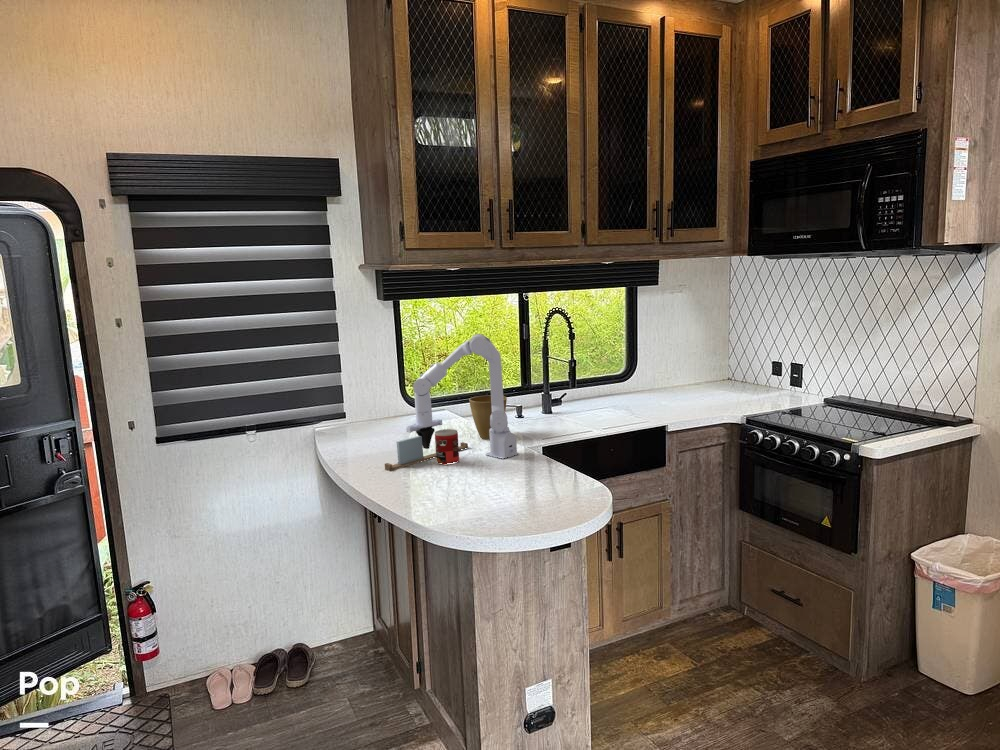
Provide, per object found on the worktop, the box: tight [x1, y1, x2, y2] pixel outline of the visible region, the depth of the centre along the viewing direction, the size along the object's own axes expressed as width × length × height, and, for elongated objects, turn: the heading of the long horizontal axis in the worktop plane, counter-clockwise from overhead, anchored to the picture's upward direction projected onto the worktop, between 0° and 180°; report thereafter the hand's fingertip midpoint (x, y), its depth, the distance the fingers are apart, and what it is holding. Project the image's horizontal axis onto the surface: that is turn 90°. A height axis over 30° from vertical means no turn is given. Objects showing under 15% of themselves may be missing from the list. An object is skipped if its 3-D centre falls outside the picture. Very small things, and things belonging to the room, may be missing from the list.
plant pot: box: [468, 394, 508, 440], centre depth 274 cm, size 15×15×16 cm
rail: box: [384, 442, 469, 472], centre depth 249 cm, size 3×35×2 cm, turn 133°
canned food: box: [434, 428, 460, 464], centre depth 243 cm, size 8×8×11 cm
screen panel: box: [396, 435, 425, 465], centre depth 243 cm, size 2×10×8 cm, turn 133°
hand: (426, 448), depth 248 cm, fingers closed
